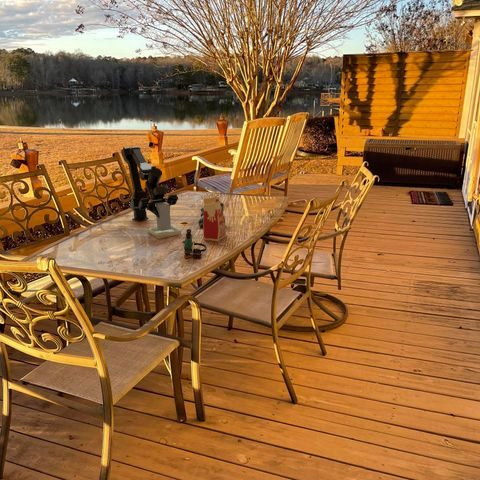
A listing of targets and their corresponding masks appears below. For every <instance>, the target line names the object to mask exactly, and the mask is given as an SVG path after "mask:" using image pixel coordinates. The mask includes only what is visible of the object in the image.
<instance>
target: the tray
mask: <svg viewBox="0 0 480 480" xmlns="http://www.w3.org/2000/svg"><path fill="white" fill-rule="evenodd" d="M147 233H148V234H150V235H151V236H153V237H154V238H156V239H163V238H168V237H175V236H179V235H182V230H181V229H180V228H178V227H176V226H174V225H172V224H171V229H170V230H165V231H160V230H159V229H157V226H155V227H150V228H147Z"/></svg>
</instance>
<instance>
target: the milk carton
mask: <svg viewBox="0 0 480 480" xmlns="http://www.w3.org/2000/svg"><path fill="white" fill-rule="evenodd" d="M202 200H203V207H204V215H203V226H202V229H203V230H202V231H203V236H202V237H203V240H204V241H205V240H206V241H215V242H219V241H221V240H222V239H224V238H225V237H226V236H227V229H226V221H225V222H224V218H225V216H224V217H223V215H224V211H223V212H222V208H221V205H220V202H221V200H220V199H219V198H218V195H215V196H214V195H213V196H212V197H206V198H205V197H204V198H202Z"/></svg>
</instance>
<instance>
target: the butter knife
mask: <svg viewBox="0 0 480 480" xmlns="http://www.w3.org/2000/svg"><path fill="white" fill-rule="evenodd" d="M179 252H180V250H178V249H177V250H174V251H172V252H171V253H170V254H168V255H167V256H166V257H165V258H164V259H163V260H165V261H166V259H167V258H168V259H170V258H171V257H173V256H174V255H177V254H179ZM169 257H170V258H169ZM168 259H167V260H168Z"/></svg>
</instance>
